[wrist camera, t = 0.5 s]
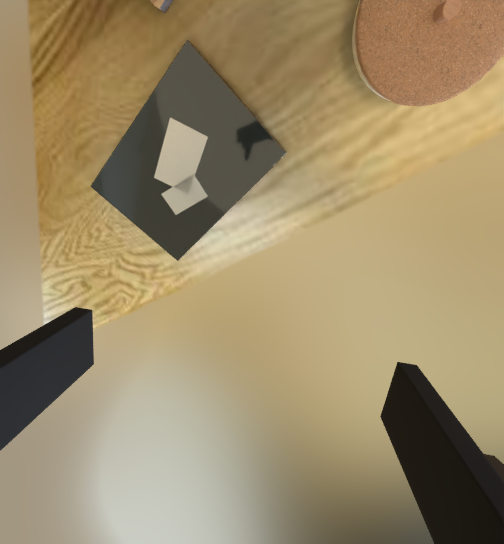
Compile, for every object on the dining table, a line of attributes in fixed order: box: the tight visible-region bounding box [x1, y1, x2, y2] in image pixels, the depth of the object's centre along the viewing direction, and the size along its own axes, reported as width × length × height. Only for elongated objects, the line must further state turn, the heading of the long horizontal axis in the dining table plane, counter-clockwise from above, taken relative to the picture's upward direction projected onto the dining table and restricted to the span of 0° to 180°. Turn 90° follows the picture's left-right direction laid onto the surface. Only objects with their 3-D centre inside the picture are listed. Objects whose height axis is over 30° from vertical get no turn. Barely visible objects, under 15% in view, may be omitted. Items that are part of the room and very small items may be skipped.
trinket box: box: [352, 0, 504, 106], centre depth 22 cm, size 11×11×9 cm
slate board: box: [91, 40, 286, 261], centre depth 34 cm, size 20×14×1 cm
